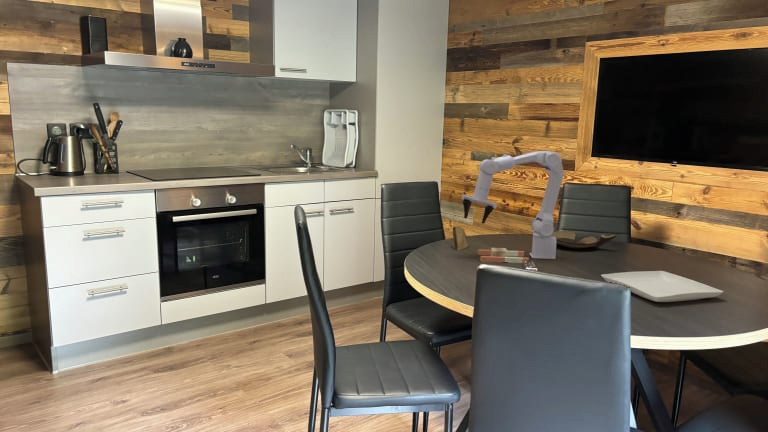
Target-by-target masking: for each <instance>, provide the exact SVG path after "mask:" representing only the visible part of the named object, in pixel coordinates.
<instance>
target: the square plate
mask: <svg viewBox="0 0 768 432" xmlns="http://www.w3.org/2000/svg"><path fill="white" fill-rule="evenodd" d="M600 276H601V277H602V278H603V279H604V280H605V281H606V282H607V283H609V282H612V283H617V284H621V285H625V286H627V287H630V289H631V291H632V292H631V293H632V294H634V295H637V296H640V297H641V298H644V299H647V300H650V301H652V302H656V303H672V302H684V301H696V300H703V299H709V298H710V299H711V298H715V297H718V296H720V295H722V294H723V293H724V292H725V291H724V290H721V289H718V288H715V287H713V286H711V285H707V284H705V283H701V282H698V281H696V280H693V279H689V278H687V277H684V276H681V275H677V274H674V273H670V272H668V271H664V270H654V271H653V270H652V271H651V270H649V271H648V270H646V271H626V272H614V273H606V274H605V273H604V274H601V275H600Z"/></svg>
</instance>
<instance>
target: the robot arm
mask: <svg viewBox="0 0 768 432" xmlns="http://www.w3.org/2000/svg"><path fill="white" fill-rule="evenodd" d="M527 163H538V165H540V166H541V167H543V168H544V169H545V170H546V171H547V173H548V175H549V177H548V181H547V185H546V188H545V190H544V195H543V199H542V203H541V206H540V209H539V212H537V214H536V216H535V218H534V220H533V221H532V223H531V229H532V231H533V234H532V243H531V246H532V247H531V252H529V255H530V256H531V258H532V259H546V260H547V259H549V260H556V259H557V258H556V257H557V256H556V254H557V243H556V237H553V236H551V234H552V233H553V231H555V229H554V222H555V220H554V217H553V215H554V212H555V207H556V204H557V201H558V197H559V194H560V191H561V186H562V182H563V179H564V175H565V171H564V167H563V159H562V157H561V156H560V154H558V152H556V151H548V150H542V151H540V150H539V151H537V150H536V151H531V152H528V153H524V154H522V155H516V156H514V157H513V156H511V155H509V154H502V156H500V157H493V156H492V157H491V159H487V158H486V159H484V160H482V161H481V162H480V164H479V165H478V168H479V173H478V176H477V181H476V184H475V188H474V191H473V196H471V195H468V194H461V200H462V204H463V211H464V212H463V213H464V216H463V218H464V219H468V216H469V212H470V208H471V205H472V204H473V203H476V204H479V205H482V206H485V207H484V212H483V217H482V221H481V224H485V223H486V220H488V219H487V218H489V215H491V213H492V212H493V211H494V209H497V206H498V203H497V202H493V201H489V200H488V197H489V193H490V190H491V186H492V185H491V184H492V182H493V178H494V175H495V174H496V173H500V172H504V171H508V170H513V168H514V167H515V166H516V165H517V166H518V165H521V164H527Z"/></svg>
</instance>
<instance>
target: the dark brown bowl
mask: <svg viewBox="0 0 768 432" xmlns="http://www.w3.org/2000/svg"><path fill="white" fill-rule="evenodd" d="M551 236H553V237H556V244H558V245H560V246H561V247H566V248H569V249H585V248H586V249H587V248H590V247H591V248H592V247H595V248H599V247H602V246H604V245H605V244H606V243H609V242H610V241H612V240H614V239H615V238H616V237H617V235H616V234H613V235H609V236H606V235H604V234H601V235H600V239H598V238H597V237H595V236H593V235H591V236H586V237H584V238H582V239H580V240H579V241H576V236H577V233H576V232H574V231H566V230H554V231H553V233H552V234H551Z"/></svg>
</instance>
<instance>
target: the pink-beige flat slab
mask: <svg viewBox="0 0 768 432" xmlns="http://www.w3.org/2000/svg"><path fill="white" fill-rule="evenodd" d="M507 251H508V254H507V257H496V256H491V249H477V255H478V256H480V262H481V263H482V262H483V263H502V262H508V263H507V264H509V263H510V264H525V263H524V262H525V261H529V262H530V258H529V257H525V251H524V250H507Z"/></svg>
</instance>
